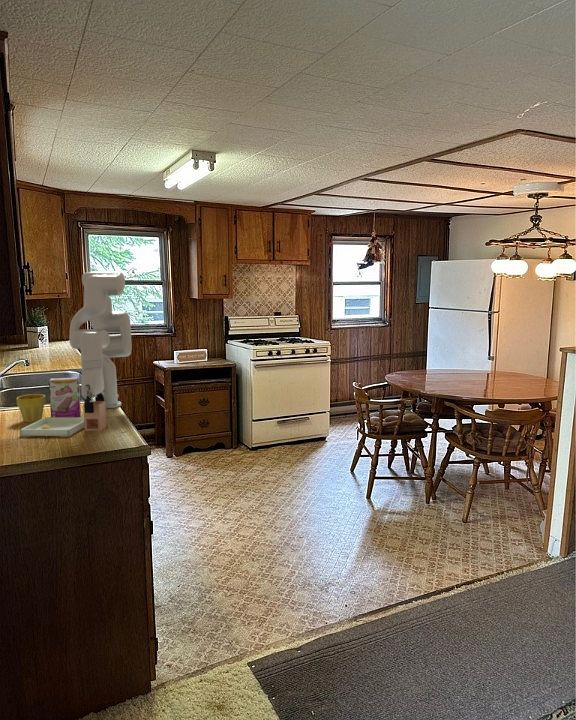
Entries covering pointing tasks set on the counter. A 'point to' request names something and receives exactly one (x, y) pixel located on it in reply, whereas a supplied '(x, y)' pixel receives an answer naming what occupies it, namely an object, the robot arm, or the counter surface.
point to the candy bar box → (65, 397)
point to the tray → (54, 427)
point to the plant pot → (31, 407)
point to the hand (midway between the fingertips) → (94, 409)
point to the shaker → (96, 417)
